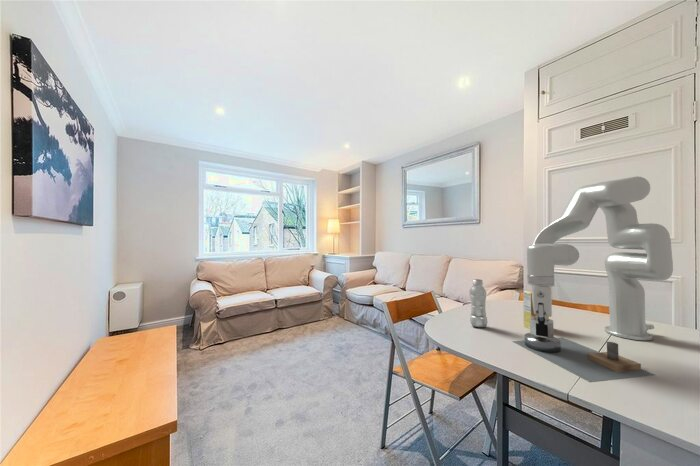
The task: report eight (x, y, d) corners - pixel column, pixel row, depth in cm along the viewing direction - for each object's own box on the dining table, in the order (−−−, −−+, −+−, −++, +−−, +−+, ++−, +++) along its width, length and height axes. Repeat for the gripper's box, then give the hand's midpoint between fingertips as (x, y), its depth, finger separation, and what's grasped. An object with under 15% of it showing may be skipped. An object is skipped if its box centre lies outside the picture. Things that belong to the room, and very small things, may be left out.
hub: (542, 340, 96) (541, 318, 96) (568, 352, 86) (568, 327, 86) (517, 342, 94) (517, 319, 94) (541, 354, 84) (541, 329, 84)
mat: (562, 338, 98) (562, 337, 98) (656, 376, 71) (656, 374, 71) (511, 342, 95) (511, 341, 95) (589, 383, 68) (589, 382, 68)
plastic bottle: (487, 330, 107) (486, 281, 107) (469, 327, 111) (468, 280, 111) (488, 325, 112) (487, 279, 113) (471, 323, 116) (470, 278, 116)
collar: (553, 333, 91) (552, 318, 91) (553, 339, 86) (553, 323, 86) (530, 329, 95) (530, 315, 95) (530, 335, 89) (529, 320, 89)
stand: (609, 356, 82) (608, 337, 82) (641, 369, 74) (640, 347, 74) (587, 358, 81) (586, 339, 81) (617, 372, 73) (616, 350, 73)
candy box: (540, 325, 112) (539, 289, 112) (550, 329, 108) (549, 291, 108) (523, 327, 110) (522, 291, 110) (532, 331, 106) (531, 293, 106)
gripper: (555, 285, 81) (556, 343, 81) (553, 277, 95) (555, 327, 95) (526, 283, 86) (527, 338, 85) (528, 276, 99) (530, 323, 99)
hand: (542, 332), depth 90 cm, fingers closed on collar, 6 cm apart
